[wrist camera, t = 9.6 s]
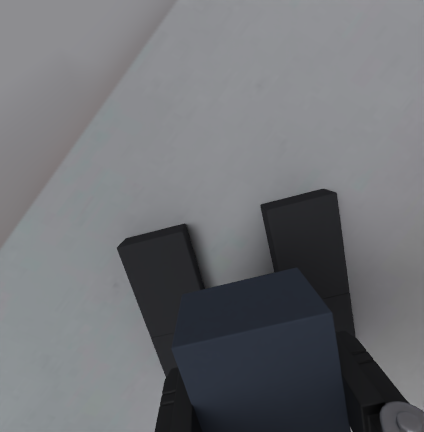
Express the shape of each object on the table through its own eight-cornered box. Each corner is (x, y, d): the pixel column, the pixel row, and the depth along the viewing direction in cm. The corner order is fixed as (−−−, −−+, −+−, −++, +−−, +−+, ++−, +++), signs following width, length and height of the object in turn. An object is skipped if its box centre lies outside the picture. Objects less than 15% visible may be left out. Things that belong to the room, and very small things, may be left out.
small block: (181, 294, 10) (170, 348, 7) (297, 266, 10) (332, 312, 7) (221, 415, 12) (224, 498, 9) (321, 394, 12) (357, 473, 9)
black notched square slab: (125, 238, 19) (116, 247, 18) (323, 188, 19) (337, 192, 17) (175, 374, 23) (172, 394, 21) (345, 337, 22) (358, 355, 20)
